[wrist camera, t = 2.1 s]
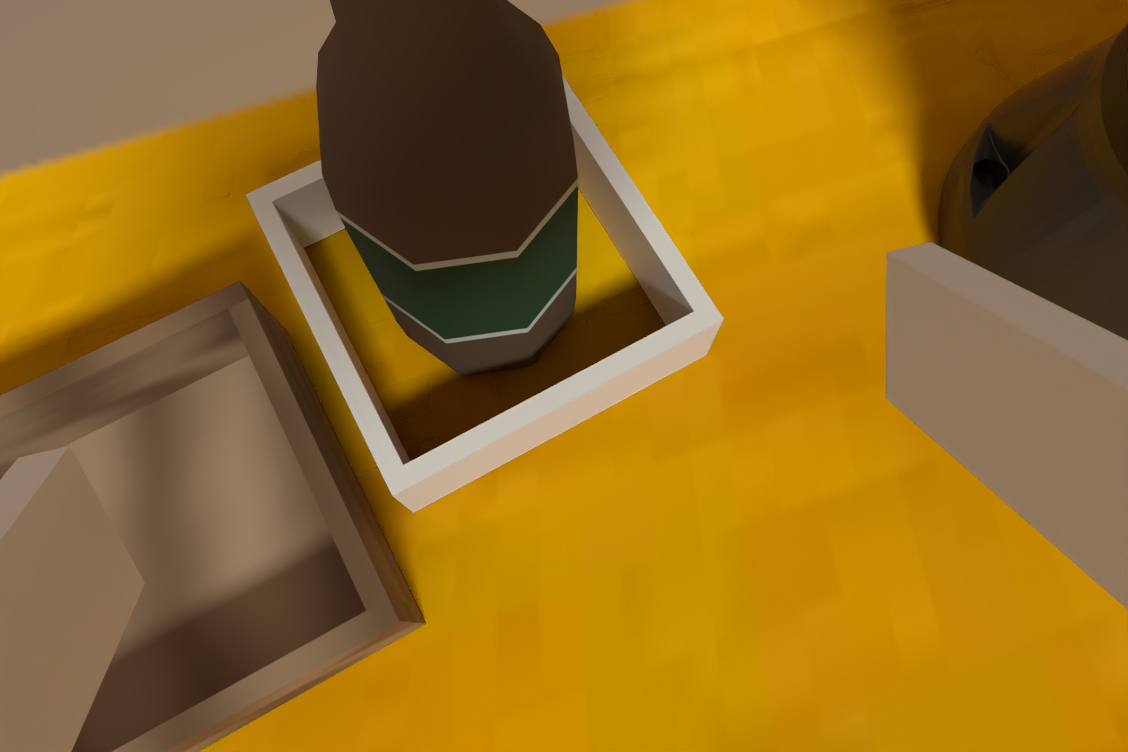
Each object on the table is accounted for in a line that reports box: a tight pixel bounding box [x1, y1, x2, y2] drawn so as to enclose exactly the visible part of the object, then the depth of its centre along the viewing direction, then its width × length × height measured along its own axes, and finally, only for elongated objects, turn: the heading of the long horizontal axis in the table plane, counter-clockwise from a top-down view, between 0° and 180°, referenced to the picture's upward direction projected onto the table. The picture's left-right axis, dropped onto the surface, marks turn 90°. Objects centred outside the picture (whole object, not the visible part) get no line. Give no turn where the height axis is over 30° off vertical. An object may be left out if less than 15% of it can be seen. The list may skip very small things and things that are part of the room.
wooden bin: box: [0, 281, 426, 752], centre depth 29 cm, size 14×14×5 cm
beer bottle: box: [316, 0, 578, 376], centre depth 23 cm, size 8×8×24 cm
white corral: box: [245, 75, 724, 513], centre depth 33 cm, size 14×14×4 cm
